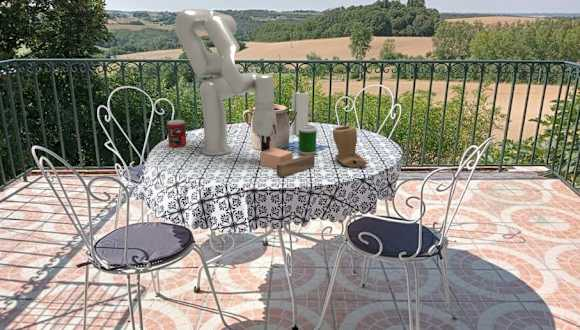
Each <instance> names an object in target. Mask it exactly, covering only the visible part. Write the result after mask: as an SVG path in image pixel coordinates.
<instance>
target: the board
mask: <svg viewBox="0 0 580 330" xmlns="http://www.w3.org/2000/svg"><path fill="white" fill-rule="evenodd" d="M315 156H316V155H315V154H314V155H310V154H308V155H301V156H299V157H296V158H293V159H292V160H289V161H286V162H282V163H279V164H277V169H276V176H277V177H280V178H285V177H288V176H290V175H293V174H296V173H299V172H302V171H304V170H307V169H311V168H314V167H315V158H316V157H315Z"/></svg>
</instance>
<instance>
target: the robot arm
mask: <svg viewBox="0 0 580 330" xmlns="http://www.w3.org/2000/svg"><path fill="white" fill-rule="evenodd" d="M174 29H175V34H176V36H177V39H178V40H179V42H180V43H181V45H182V47H183V49H184V51H185V54H186V57H187V58H188V61H189V63H190V65H191V66H190V67H192V70H193V72H194V74H195V75H196V76H197V77H199V78H207V77H212V78H207V79H205V80H203V81H202V82H201V84H200V86H199V89H198V90H199V97H200V100H201V106H202V113H203V115H202V117H203V130H204V131H203V133H204V136H203V137H204V140H201V144H202V145H203V147H202V148H201V153H202V155H207V156H222V155H228V154H230V153H231V151H232V149H231V147H230V146H228V137H227V136H228V132H227V113H226V107H225V105H224V103H223V100H227V99H230V98H233V97H234V96H235V95H237V94H238V95H243V94H247V93H253V92H254V106H255V107H254V109H253V112H252V123H251V125H252V126H251V127H252V132H253V134H254V135H256V136H257V137H258V138H259V142H260V145H261V146H260V147H261V148H260V150H261V151H260V152H262V151H265V150H268V149H271V147H270V143H271V141H272V140H276V138H277V137H276V135H277V132H278V126H277V125H278V123H277V114H276V110H275V79H274V76H273V75H272V74H267V73H263V74H262V73H258V72H253V71H251V72H245V73H244V72H243V73H241V72H240V71H239V69H238V67H237V65H236V63H235V56H236V54H238V53H239V51H240V45H239V43H238V40H237V39H236V38H235V36H234V35H235V34H236V33H237V30H238V25H237V22H236V21H235V18H234V17H233V16H231V15H229V14H226V13H225V14H224V13H221V12H218V11H215V10H211V9H205V8H204V9H200V8H199V9H197V8H189V9H186V8H185V9H183V10H181V11H179V12H178V13H177V15H176V17H175V20H174ZM201 31H202V32H204V31H205V32H206V34H207V35H208V37H209V38H210V41H211V42H212V44H213V45H214V48H215V49H216V51H217V52H210V51H208V49H207V47H206V45H205V42H204V41H203V39H202V38H201V37H200V36H199V35H198V34H197V33H196V32H201Z"/></svg>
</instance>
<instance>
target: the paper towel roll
mask: <svg viewBox="0 0 580 330" xmlns="http://www.w3.org/2000/svg"><path fill="white" fill-rule="evenodd" d="M309 94H310V93H309V92H308V91H296V92H295V91H294V92H291V110H292V109H295V110H296V112H297V115H296V118H295V120H294V122H293V123H292V122H291V135H296V136H298V137H299V128H300V127H301V126H303V125H309V100H310V99H309V97H310V96H309Z"/></svg>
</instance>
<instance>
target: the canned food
mask: <svg viewBox="0 0 580 330" xmlns="http://www.w3.org/2000/svg"><path fill="white" fill-rule="evenodd" d="M166 125H167V126H166V127H167V137H168V145H169V147H172V148H181V147H185V146H186V145H187V131H186V121H185V120H183V119H172V120H168V121H167V123H166Z"/></svg>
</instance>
